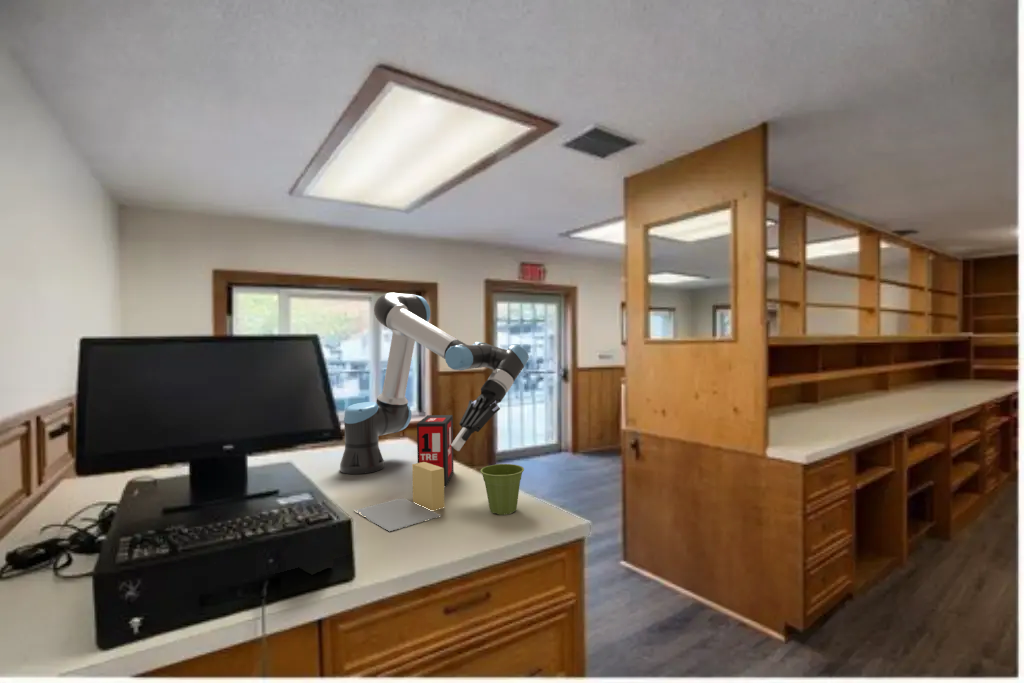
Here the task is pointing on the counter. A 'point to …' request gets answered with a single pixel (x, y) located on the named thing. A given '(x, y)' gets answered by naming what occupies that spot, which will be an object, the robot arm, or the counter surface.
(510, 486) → the plant pot
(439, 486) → the ochre box
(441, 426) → the cleaning product box
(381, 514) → the mat
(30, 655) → the counter surface
